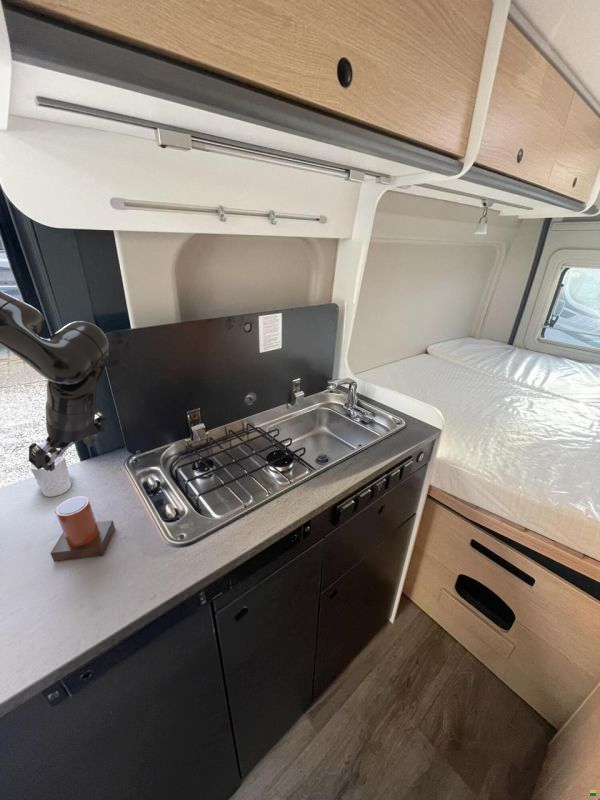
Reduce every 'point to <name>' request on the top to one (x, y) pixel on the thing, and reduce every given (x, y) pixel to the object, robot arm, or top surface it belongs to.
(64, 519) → the canister
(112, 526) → the walnut block
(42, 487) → the white cup
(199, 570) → the top surface
